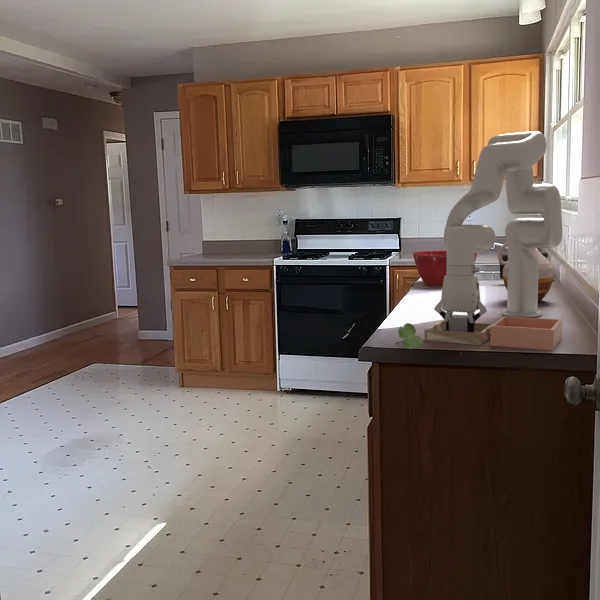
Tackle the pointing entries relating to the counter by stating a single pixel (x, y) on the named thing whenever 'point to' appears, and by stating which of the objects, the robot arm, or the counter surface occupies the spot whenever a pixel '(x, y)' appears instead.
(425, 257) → the mixing bowl
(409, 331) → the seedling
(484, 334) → the frame
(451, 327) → the grey block
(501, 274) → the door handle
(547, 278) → the jug
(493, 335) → the bin
